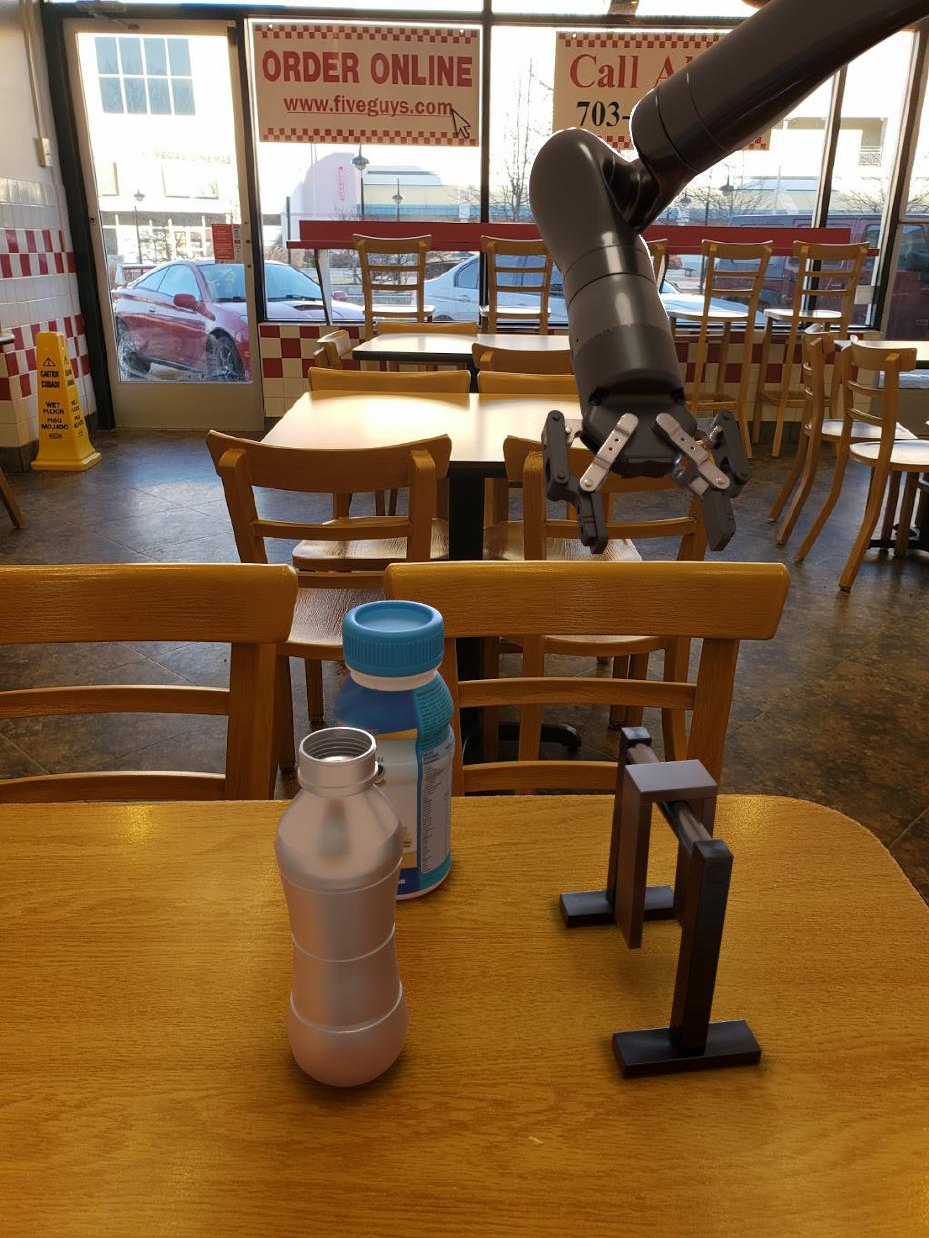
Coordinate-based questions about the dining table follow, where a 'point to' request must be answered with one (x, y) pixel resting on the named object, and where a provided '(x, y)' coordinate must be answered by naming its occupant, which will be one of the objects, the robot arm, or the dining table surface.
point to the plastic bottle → (342, 911)
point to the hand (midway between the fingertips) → (661, 547)
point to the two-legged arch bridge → (637, 801)
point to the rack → (704, 915)
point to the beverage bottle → (404, 726)
